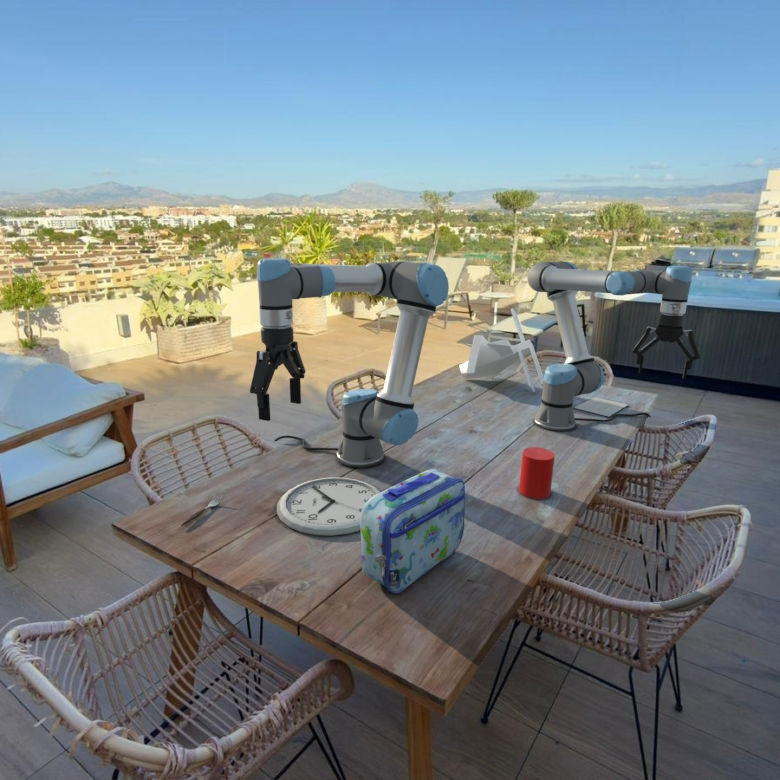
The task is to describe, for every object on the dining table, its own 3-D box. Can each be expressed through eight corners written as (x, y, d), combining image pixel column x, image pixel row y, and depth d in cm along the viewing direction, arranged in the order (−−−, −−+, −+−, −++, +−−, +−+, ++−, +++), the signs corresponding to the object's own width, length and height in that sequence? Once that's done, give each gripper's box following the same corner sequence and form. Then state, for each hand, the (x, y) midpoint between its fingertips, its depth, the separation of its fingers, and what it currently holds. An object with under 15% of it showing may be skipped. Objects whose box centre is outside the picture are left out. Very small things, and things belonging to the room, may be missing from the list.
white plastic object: (480, 421, 262) (459, 398, 238) (462, 347, 285) (440, 320, 260) (552, 397, 250) (537, 370, 226) (527, 322, 272) (511, 290, 248)
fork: (176, 526, 131) (176, 519, 130) (217, 497, 145) (217, 491, 145) (185, 528, 130) (184, 521, 130) (225, 499, 145) (224, 492, 144)
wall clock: (392, 527, 129) (268, 531, 127) (391, 533, 130) (269, 537, 127) (383, 473, 158) (282, 475, 155) (383, 478, 158) (282, 480, 156)
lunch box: (388, 606, 105) (390, 514, 99) (353, 580, 112) (353, 493, 106) (468, 553, 123) (474, 472, 116) (433, 534, 130) (437, 457, 124)
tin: (513, 492, 152) (517, 454, 148) (526, 481, 158) (530, 444, 154) (542, 502, 146) (547, 462, 143) (554, 490, 153) (559, 452, 149)
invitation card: (608, 416, 214) (573, 407, 224) (608, 416, 214) (573, 408, 224) (628, 404, 229) (594, 396, 238) (628, 405, 229) (594, 397, 238)
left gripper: (258, 337, 111) (263, 430, 117) (317, 319, 133) (319, 398, 139) (229, 333, 113) (236, 425, 120) (292, 317, 136) (295, 394, 142)
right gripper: (630, 312, 174) (621, 374, 181) (717, 318, 165) (704, 383, 171) (631, 309, 181) (622, 369, 187) (714, 315, 171) (702, 377, 177)
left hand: (280, 411), depth 130 cm, fingers open, 13 cm apart
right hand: (661, 376), depth 179 cm, fingers open, 13 cm apart
